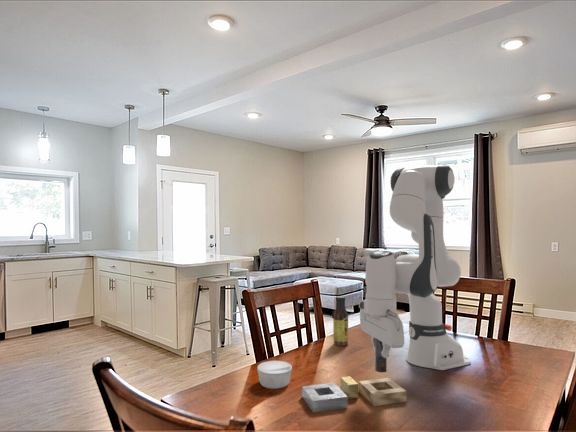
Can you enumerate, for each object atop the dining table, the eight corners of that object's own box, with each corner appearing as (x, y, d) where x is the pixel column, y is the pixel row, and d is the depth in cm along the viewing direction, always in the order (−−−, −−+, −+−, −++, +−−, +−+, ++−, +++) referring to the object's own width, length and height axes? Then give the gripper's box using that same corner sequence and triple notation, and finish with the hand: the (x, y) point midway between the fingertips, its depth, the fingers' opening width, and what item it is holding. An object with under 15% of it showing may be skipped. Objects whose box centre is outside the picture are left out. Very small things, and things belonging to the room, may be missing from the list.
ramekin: (279, 393, 117) (279, 375, 117) (249, 385, 123) (249, 368, 123) (298, 380, 126) (298, 364, 126) (270, 374, 132) (270, 358, 132)
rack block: (388, 387, 120) (388, 377, 120) (406, 401, 111) (406, 390, 111) (358, 391, 118) (358, 381, 118) (374, 405, 108) (374, 395, 108)
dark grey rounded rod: (383, 367, 116) (383, 334, 116) (388, 371, 113) (388, 336, 113) (373, 368, 115) (373, 334, 116) (378, 372, 112) (378, 337, 112)
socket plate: (334, 392, 117) (334, 382, 117) (347, 407, 107) (347, 396, 107) (302, 396, 114) (302, 386, 114) (313, 412, 104) (312, 401, 105)
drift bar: (349, 389, 119) (349, 376, 119) (358, 397, 113) (358, 383, 113) (340, 390, 118) (340, 377, 118) (348, 398, 112) (348, 384, 113)
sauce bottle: (348, 347, 161) (347, 298, 161) (332, 346, 162) (332, 298, 162) (348, 342, 167) (348, 295, 168) (334, 341, 168) (333, 295, 169)
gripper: (410, 313, 105) (410, 365, 105) (374, 300, 125) (374, 343, 125) (389, 315, 104) (389, 367, 103) (356, 301, 124) (356, 345, 123)
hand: (380, 354), depth 114 cm, fingers closed on dark grey rounded rod, 3 cm apart
